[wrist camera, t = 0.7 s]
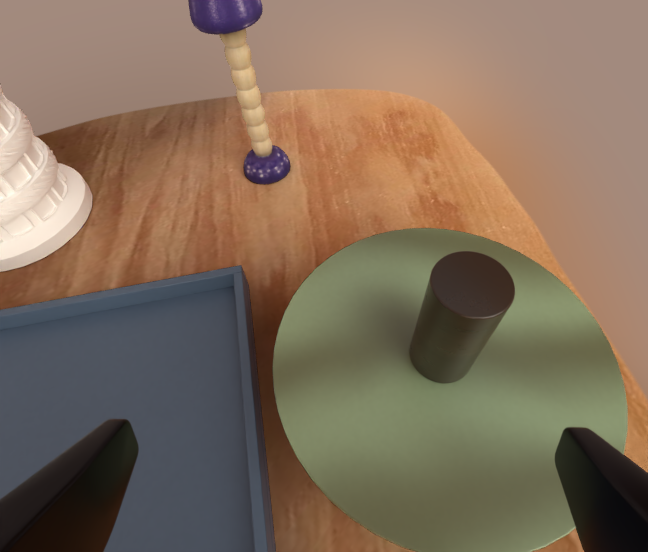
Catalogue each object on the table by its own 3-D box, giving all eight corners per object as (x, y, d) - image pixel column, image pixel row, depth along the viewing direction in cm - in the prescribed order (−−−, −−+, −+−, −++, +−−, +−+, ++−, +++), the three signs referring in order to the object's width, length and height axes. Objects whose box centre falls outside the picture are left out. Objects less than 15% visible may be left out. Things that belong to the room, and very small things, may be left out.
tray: (289, 683, 17) (281, 701, 15) (-236, 818, 16) (-322, 856, 14) (248, 284, 29) (241, 264, 27) (-53, 341, 28) (-85, 325, 26)
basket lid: (698, 510, 16) (909, 482, 10) (303, 606, 15) (272, 641, 9) (514, 220, 24) (566, 114, 19) (260, 267, 23) (230, 171, 18)
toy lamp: (263, 195, 35) (205, -40, 21) (227, 173, 37) (152, -55, 23) (300, 165, 37) (269, -67, 23) (264, 146, 38) (216, -79, 25)
